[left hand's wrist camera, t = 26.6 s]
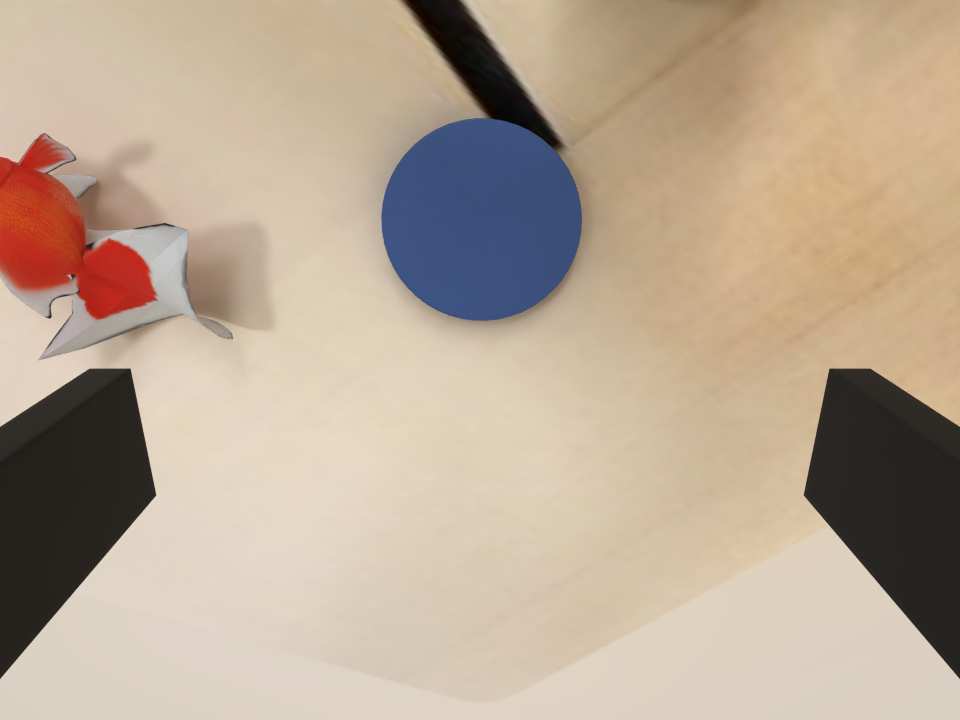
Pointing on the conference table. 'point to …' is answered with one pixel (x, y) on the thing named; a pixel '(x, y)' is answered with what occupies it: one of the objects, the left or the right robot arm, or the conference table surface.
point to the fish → (85, 256)
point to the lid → (481, 219)
